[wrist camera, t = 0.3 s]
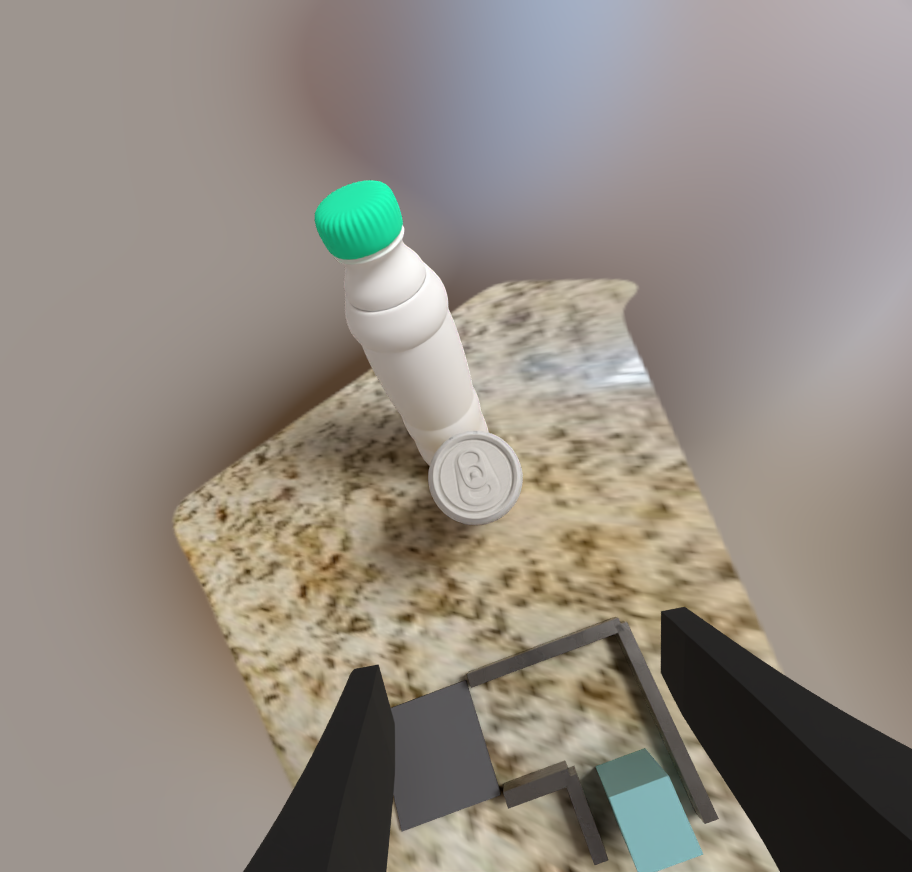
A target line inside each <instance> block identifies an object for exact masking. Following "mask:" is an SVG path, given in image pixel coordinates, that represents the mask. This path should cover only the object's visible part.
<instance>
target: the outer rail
mask: <svg viewBox="0 0 912 872" xmlns="http://www.w3.org/2000/svg"><path fill="white" fill-rule="evenodd" d="M613 634H615V635H616V637H617V639H618V641H619V643H620V646H621V648H622V650H623V652H624V655H625V657H626V659H627V661H628V663H629V666H630V668H631V670H632V672H633V675H634V677H635V679H636V681H637V683H638V686H639V688H640V690H641V692H642V695H643V697H644V699H645V701H646V703H647V706H648V708H649V710H650V712H651V715H652V717H653V719H654V721H655V723H656V726H657V728H658V730H659V732H660V735H661V737H662V739H663V741H664V743H665V746H666V748H667V750H668V752H669V755H670V757H671V759H672V761H673V763H674V766H675V768H676V770H677V772H678V774H679V777H680V779H681V781H682V783H683V786H684V788H685V790H686V792H687V794H688V797H689V799H690V801H691V803H692V806H693V808H694V810H695V812H696V814H697V815H698V816H699V817H700V819H701V820H702V821H703V822H704V823H705V824H706V823H709V822H712V821H714V820H717V819H719V818H718V816H717V814H716V812H715V810H714V808H713V805H712V803H711V801H710V799H709V797H708V795H707V793H706V790H705V788H704V786H703V784H702V782H701V780H700V778H699V775H698V773H697V771H696V769H695V767H694V765H693V763H692V760H691V758H690V756H689V754H688V752H687V750H686V748H685V745H684V743H683V741H682V739H681V737H680V735H679V732H678V730H677V728H676V726H675V724H674V722H673V720H672V717H671V715H670V713H669V711H668V709H667V707H666V705H665V702H664V700H663V698H662V696H661V694H660V692H659V690H658V687H657V685H656V683H655V681H654V679H653V677H652V675H651V672H650V670H649V668H648V666H647V664H646V662H645V660H644V657H643V655H642V653H641V651H640V649H639V647H638V644H637V642H636V640H635V638H634V636H633V634H632V632H631V629H630V627H629V625H628V623H627V622H624V621H622V622H620V621H619V618H617V617H614V618H611V619H608V620H606V621H603V622H600V623H598V624H595V625H592V626H590V627H587V628H584V629H582V630H579V631H576V632H574V633H571V634H568V635H566V636H563V637H560V638H558V639H555V640H552V641H550V642H547V643H544V644H542V645H539V646H536V647H534V648H531V649H528V650H526V651H523V652H520V653H517V654H515V655H512V656H509V657H507V658H504V659H501V660H499V661H496V662H493V663H491V664H488V665H485V666H483V667H480V668H477V669H475V670H472V671H470V672H469V673H468V674H467V676H468V679H469V682H470V686H471V688H472V687H474V686H477V685H480V684H482V683H485V682H488V681H490V680H493V679H496V678H498V677H501V676H504V675H506V674H509V673H512V672H514V671H517V670H520V669H522V668H525V667H528V666H530V665H533V664H536V663H538V662H541V661H544V660H546V659H549V658H552V657H555V656H557V655H560V654H563V653H565V652H568V651H571V650H573V649H576V648H579V647H581V646H584V645H587V644H589V643H592V642H595V641H597V640H600V639H603V638H605V637H608V636H611V635H613Z"/></svg>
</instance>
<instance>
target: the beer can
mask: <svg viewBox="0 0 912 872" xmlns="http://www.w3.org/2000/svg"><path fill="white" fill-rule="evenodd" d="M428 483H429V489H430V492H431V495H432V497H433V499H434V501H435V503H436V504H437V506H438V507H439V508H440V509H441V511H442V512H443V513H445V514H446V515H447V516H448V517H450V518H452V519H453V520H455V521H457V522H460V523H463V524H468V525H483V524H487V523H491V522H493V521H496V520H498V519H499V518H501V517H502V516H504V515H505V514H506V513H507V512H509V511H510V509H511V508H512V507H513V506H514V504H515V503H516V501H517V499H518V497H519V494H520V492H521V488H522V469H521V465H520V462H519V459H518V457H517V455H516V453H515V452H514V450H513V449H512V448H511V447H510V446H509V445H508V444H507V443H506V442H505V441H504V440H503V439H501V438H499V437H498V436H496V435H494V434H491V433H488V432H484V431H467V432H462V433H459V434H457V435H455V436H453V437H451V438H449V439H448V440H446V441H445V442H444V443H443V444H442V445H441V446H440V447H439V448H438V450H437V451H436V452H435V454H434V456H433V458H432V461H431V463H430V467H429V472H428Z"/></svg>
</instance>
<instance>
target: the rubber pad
mask: <svg viewBox="0 0 912 872" xmlns="http://www.w3.org/2000/svg"><path fill="white" fill-rule="evenodd" d="M391 712H392V715H393V719H394V722H395V780H394V792H393V794H394V799H395V803H396V808H397V812H398V817H399V821H400V826H401V830H402V831H405V830H407V829H410V828H413V827H415V826H418V825H421V824H424V823H426V822H429V821H432V820H434V819H437V818H440V817H443V816H445V815H448V814H451V813H453V812H456V811H459V810H461V809H464V808H467V807H470V806H472V805H475V804H478V803H480V802H483V801H486V800H489V799H491V798H494V797H497V796H499V795H500V794H501V793H500V789H499V786H498V783H497V779H496V776H495V773H494V770H493V766H492V763H491V760H490V757H489V753H488V750H487V747H486V744H485V740H484V737H483V734H482V730H481V727H480V724H479V721H478V717H477V714H476V711H475V708H474V704H473V701H472V698H471V695H470V691H469V688H468V685H467V681H466V680H464V681H462V682H459V683H456V684H454V685H451V686H448V687H446V688H443V689H440V690H438V691H435V692H432V693H430V694H427V695H424V696H422V697H419V698H416V699H413V700H411V701H408V702H405V703H403V704H400V705H397V706H395V707H392V708H391Z"/></svg>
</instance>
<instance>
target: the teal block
mask: <svg viewBox="0 0 912 872" xmlns="http://www.w3.org/2000/svg"><path fill="white" fill-rule="evenodd" d="M596 769H597V772H598V774H599V777H600V779H601V782H602V785H603V787H604V790H605V792H606V795H607V797H608V800H609V803H610V805H611V808H612V810H613V813H614V815H615V818H616V821H617V823H618V826H619V828H620V831H621V833H622V836H623V838H624V840H625V843H626V845H627V847H628V850H629V852H630V855H631V857H632V859H633V862H634V864H635V866H636V869H637V871H638V872H657V871H659V870H662V869H665V868H667V867H670V866H673V865H676V864H678V863H681V862H684V861H687V860H689V859H692V858H695V857H697V856H700V855H703V852H702V850H701V848H700V846H699V843H698V841H697V839H696V837H695V834H694V832H693V830H692V828H691V825H690V823H689V821H688V819H687V816H686V814H685V812H684V809H683V807H682V805H681V803H680V800H679V798H678V796H677V794H676V791H675V789H674V787H673V785H672V782H671V780H670V778H669V776H668V774H667V773H666V772H665V771H664V770H663V769H662V767H661V766H660V765H659V764H658V763H657V762H656V760H655V759H654V758H653V757H652V756H651V755H650V753H649V752H648V751H647V750H646V749H645V748H644V749H641V750H639V751H636V752H633V753H631V754H628V755H625V756H623V757H620V758H617V759H614V760H612V761H609V762H606V763H604V764H601V765H598V766H596Z"/></svg>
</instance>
